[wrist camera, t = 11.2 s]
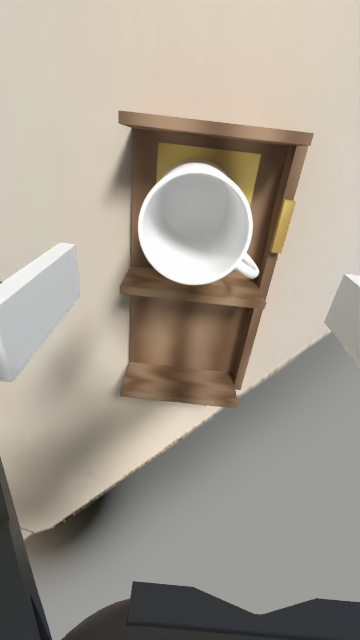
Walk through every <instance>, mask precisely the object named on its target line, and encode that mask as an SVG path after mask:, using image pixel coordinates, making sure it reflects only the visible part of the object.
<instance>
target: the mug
mask: <svg viewBox="0 0 360 640" xmlns="http://www.w3.org/2000/svg"><path fill="white" fill-rule="evenodd" d="M252 230H253V221H252V214H251V210H250V206H249V204H248V201H247V199H246V197H245V196H244V194H243V192H242V191H241V190H240V188H239V187H238V186H237V185H236V184H235V183H234V182H233V181H232V180H231V179H230V178H229V176H228V175H227V174H226V172H225V171H224V170H223V169H222V168H221V167H219V166H218V165H216V164H215V163H213V162H211V161H208V160H204V159H188V160H184V161H181V162H179V163H177V164H175V165H174V166H172V167H171V168H170V169H169V170H168V171H167V172H166V173H165V174H164V175H163V177H162V178H161V180H160V181H159V182H158V183H157V184H156V185H155V186H154V187H153V188H152V189H151V191H150V192H149V193H148V195H147V197H146V198H145V200H144V202H143V205H142V207H141V210H140V214H139V219H138V236H139V241H140V245H141V248H142V250H143V252H144V255H145V256H146V258H147V260H148V261H149V262H150V264H151V265H152V266H153V267H154V268H155V269H156V270H157V271H158V272H159V273H160V274H162V275H163V276H165V277H166V278H168V279H170V280H172V281H175V282H178V283H181V284H187V285H202V284H208V283H211V282H214V281H217V280H219V279H221V278H223V277H224V276H226V275H227V274H229V273H230V272H231V271H233V270H234V269H235V270H237V271H238V272H240V273H241V274H243V275H244V276H246V277H248V278H251V279H253V278H256V277H257V276H258V274H259V269H258V267H257V266H256V264H255V263H254V261H253V260H252V259H251V258H250V256H249V255H248V254H247V253H246V252H247V250H248V248H249V245H250V242H251V237H252Z"/></svg>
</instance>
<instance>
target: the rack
mask: <svg viewBox="0 0 360 640" xmlns="http://www.w3.org/2000/svg"><path fill="white" fill-rule="evenodd" d="M119 124H122V125H125V126H128V127H131V128H133V163H132V234H131V267H130V269H129V271H128V272H127V274H126V276H125V278H124V280H123V281H122V283H121V285H120V294H129V295H131V305H130V362H129V366H128V369H127V372H126V375H125V379H124V382H123V385H122V388H121V392H120V393H121V396H124V397H134V398H143V399H153V400H162V401H171V402H181V403H190V404H200V405H209V406H219V407H228V408H237V404H238V403H237V397H236V391H235V389H237V390H241V386H242V382H243V379H244V375H245V372H246V368H247V364H248V361H249V357H250V354H251V350H252V347H253V343H254V339H255V336H256V332H257V329H258V325H259V321H260V318H261V314H262V311H263V309H264V308H265V305H266V301H265V300H266V296H267V293H268V289H269V285H270V282H271V278H272V275H273V271H274V268H275V264H276V260H277V257H278V253H281V252H282V248H283V245H284V241H285V238H286V234H287V231H288V227H289V223H290V220H291V216H292V213H293V209H294V206H295V201H293V199H294V196H295V192H296V189H297V185H298V181H299V178H300V174H301V171H302V167H303V163H304V160H305V156H306V153H307V149H308V146H310V145H311V141H312V138H313V134H314V133H306V132H298V131H289V130H280V129H272V128H263V127H255V126H246V125H238V124H229V123H220V122H212V121H203V120H195V119H186V118H178V117H169V116H161V115H152V114H143V113H135V112H126V111H119ZM188 159H204V160H208V161H211V162H213V163H215V164H216V165H218V166H219V167H221V168H222V169H223V170H224V171H225V172H226V174H227V175H228V176H229V178H230V179H231V180H232V181H233V182H234V183H235V184H236V185H237V186H238V187H239V188H240V190H241V191H242V192H243V194H244V196H245V197H246V199H247V201H248V204H249V206H250V210H251V214H252V221H253V230H252V237H251V242H250V245H249V248H248V250H247V252H246V253H247V254H248V255H249V256H250V258H251V259H252V260H253V261H254V263H255V264H256V266H257V267H258V269H259V274H258V276H257V277H256V278H253V279H251V278H248V277H246V276H244V275H243V274H241V273H240V272H238V271H237V270H235V269H234V270H233V271H231V272H230V273H229V274H227V275H226V276H224V277H223V278H221V279H219V280H217V281H214V282H211V283H208V284H202V285H187V284H181V283H178V282H175V281H172V280H170V279H168V278H166V277H165V276H163V275H162V274H160V273H159V272H158V271H157V270H156V269H155V268H154V267H153V266H152V265H151V264H150V262H149V261H148V260H147V258H146V256H145V255H144V252H143V250H142V248H141V245H140V241H139V236H138V219H139V214H140V210H141V207H142V205H143V202H144V200H145V198H146V197H147V195H148V193H149V192H150V191H151V189H152V188H153V187H154V186H155V185H156V184H157V183H158V182H159V181H160V180H161V178H162V177H163V175H164V174H165V173H166V172H167V171H168V170H169V169H170V168H171V167H172V166H174V165H175V164H177V163H179V162H181V161H184V160H188Z"/></svg>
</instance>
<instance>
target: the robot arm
mask: <svg viewBox="0 0 360 640" xmlns="http://www.w3.org/2000/svg"><path fill="white" fill-rule="evenodd" d="M79 296H80V290H79V278H78V266H77V254H76V244H67V243H59V244H57V245H56V246H54V247H53V248H51V249H50V250H48V251H47V252H46V253H44V254H43V255H41V256H40V257H38V258H37V259H35V260H34V261H32V262H31V263H30V264H28V265H27V266H25V267H24V268H22V269H21V270H19V271H18V272H17V273H15V274H14V275H12V276H11V277H9V278H8V279H6V280H5V281H3V282H0V381H6V382H13V381H14V380H15V378H16V377H17V376H18V375H19V373H20V372H21V371H22V369H23V368H24V367H25V366H26V364H27V363H28V362H29V360H30V359H31V358H32V357H33V355H34V354H35V353H36V352H37V350H38V349H39V348H40V346H41V345H42V344H43V343H44V341H45V340H46V339H47V337H48V336H49V335H50V334H51V332H52V331H53V330H54V328H55V327H56V326H57V325H58V323H59V322H60V321H61V320H62V318H63V317H64V316H65V314H66V313H67V312H68V311H69V309H70V308H71V307H72V305H73V304H74V303H75V302H76V300H77V299H78V298H79ZM325 324H326V325H327V326H328V327H329V329H330V330H331V331H332V333H333V334H334V335H335V337H336V338H337V339H338V340H339V342H340V343H341V344H342V346H343V347H344V348H345V350H346V351H347V352H348V354H349V355H350V356H351V358H352V359H353V360H354V362H355V363H356V364H357V366H358V367H359V368H360V276H358V275H349V274H344V276H343V278H342V280H341V283H340V285H339V288H338V290H337V293H336V295H335V297H334V300H333V302H332V305H331V307H330V310H329V312H328V314H327V317H326V319H325ZM0 640H52V638H51V634H50V630H49V627H48V623H47V620H46V617H45V613H44V610H43V607H42V604H41V601H40V597H39V594H38V591H37V587H36V584H35V580H34V577H33V573H32V570H31V566H30V563H29V559H28V555H27V552H26V548H25V544H24V541H23V537H22V534H21V530H20V526H19V523H18V519H17V515H16V512H15V508H14V505H13V501H12V497H11V494H10V490H9V487H8V483H7V479H6V476H5V472H4V468H3V465H2V461H1V458H0ZM62 640H360V602H350V601H339V600H328V599H318V598H316V599H313V600H310V601H306V602H303V603H299V604H296V605H293V606H289V607H286V608H283V609H279V610H276V611H273V612H269V613H266V614H262V615H258V614H253V613H251V612H248V611H246V610H243V609H241V608H239V607H237V606H234V605H232V604H230V603H228V602H226V601H223V600H221V599H219V598H216V597H214V596H212V595H210V594H208V593H205V592H203V591H201V590H199V589H196V588H194V587H188V586H187V587H186V586H177V585H166V584H156V583H145V582H134V581H133V585H132V591H131V598H130V599H127V600H123V601H120V602H116V603H114V604H112V605H109V606H107V607H105V608H103V609H101V610H99V611H97V612H96V613H94V614H93V615H91V616H89V617H88V618H86V619H85V620H84V621H82V622H81V623H80V624H79V625H77V626H76V627H75V628H74V629H72V630H71V631H70V632H69V633H68V634H67V635H66V636H65V637H64V638H63V639H62Z"/></svg>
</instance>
